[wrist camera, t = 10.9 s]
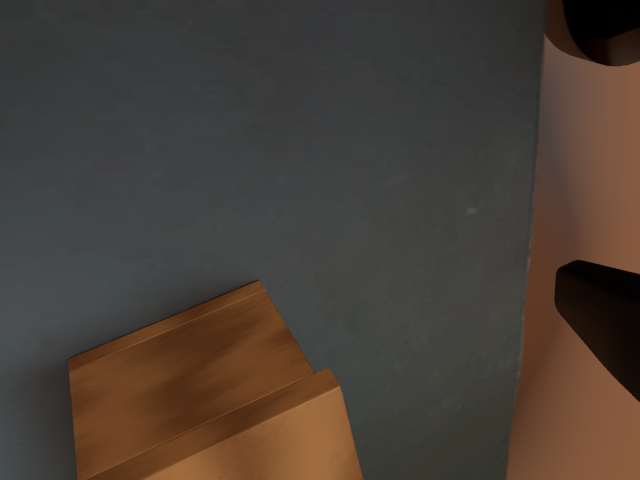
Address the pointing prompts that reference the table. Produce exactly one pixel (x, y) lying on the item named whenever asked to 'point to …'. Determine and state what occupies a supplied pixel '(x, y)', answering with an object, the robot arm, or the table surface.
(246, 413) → the shelf
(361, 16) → the table surface
